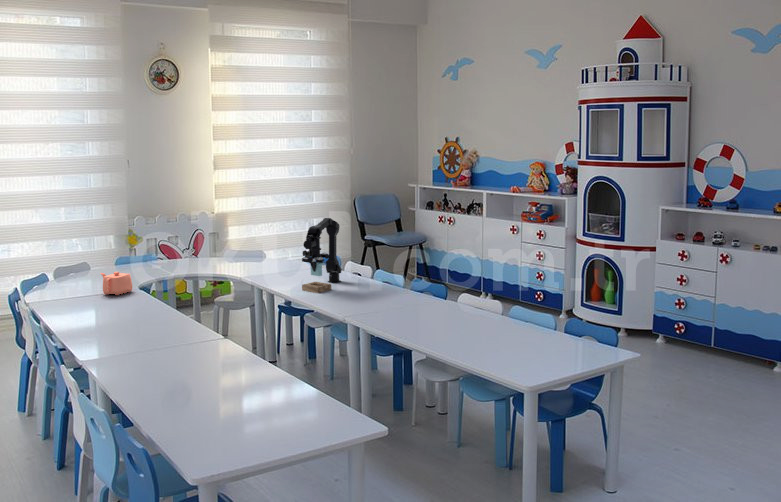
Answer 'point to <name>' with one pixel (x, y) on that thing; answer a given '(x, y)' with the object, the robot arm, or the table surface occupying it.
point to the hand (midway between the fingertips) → (316, 271)
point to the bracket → (317, 269)
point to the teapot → (116, 283)
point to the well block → (316, 287)
